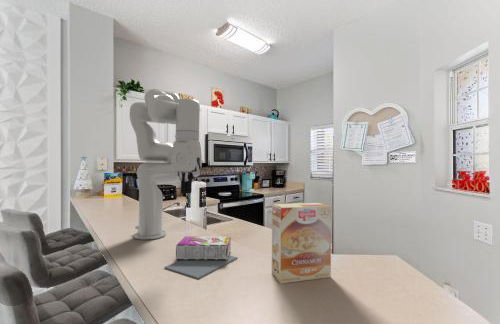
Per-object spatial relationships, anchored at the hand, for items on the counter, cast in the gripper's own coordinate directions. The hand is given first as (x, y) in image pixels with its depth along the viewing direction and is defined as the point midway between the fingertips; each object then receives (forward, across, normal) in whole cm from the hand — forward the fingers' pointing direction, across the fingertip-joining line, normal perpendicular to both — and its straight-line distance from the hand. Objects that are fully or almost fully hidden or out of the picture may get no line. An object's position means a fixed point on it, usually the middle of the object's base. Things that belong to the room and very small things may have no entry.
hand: (186, 193), depth 82 cm
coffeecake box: (+21, +37, +8) cm, 43 cm away
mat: (+21, +8, 0) cm, 23 cm away
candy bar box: (+18, -3, 0) cm, 19 cm away
